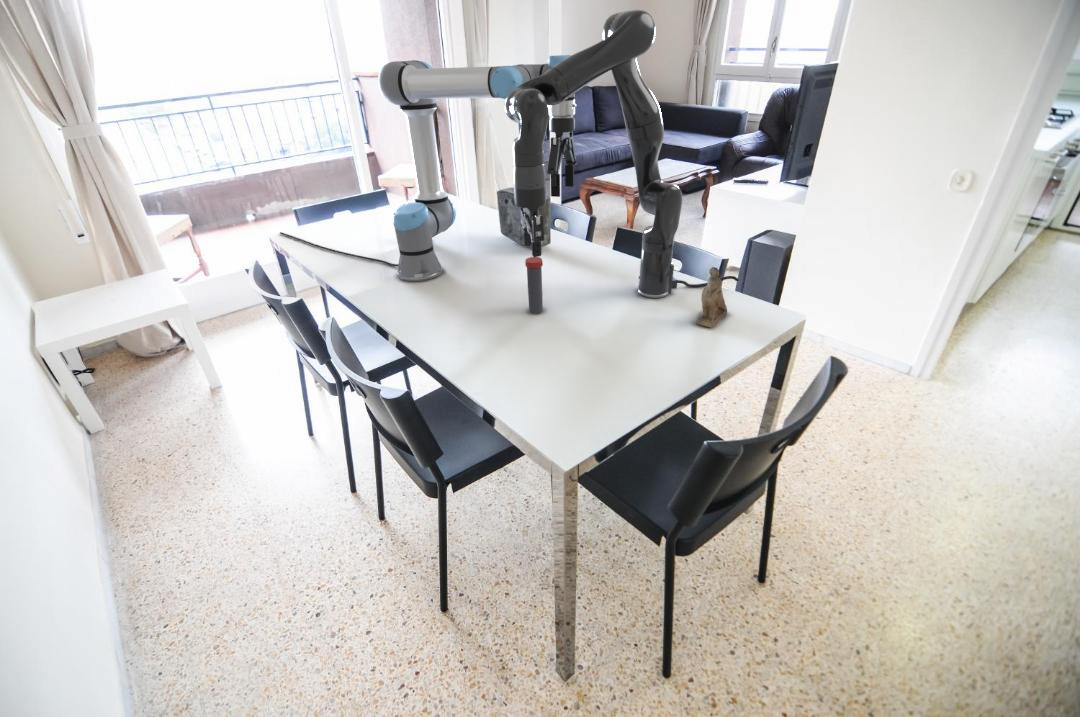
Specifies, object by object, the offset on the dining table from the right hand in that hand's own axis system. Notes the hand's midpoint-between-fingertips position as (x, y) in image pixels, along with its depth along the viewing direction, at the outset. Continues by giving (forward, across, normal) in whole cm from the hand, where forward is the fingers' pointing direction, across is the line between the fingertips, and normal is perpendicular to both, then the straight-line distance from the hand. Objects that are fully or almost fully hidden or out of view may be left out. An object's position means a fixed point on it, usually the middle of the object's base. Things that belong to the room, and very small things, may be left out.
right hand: (532, 250), depth 125 cm
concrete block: (+23, +71, -15) cm, 76 cm away
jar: (+23, +12, -3) cm, 26 cm away
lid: (+7, +12, -3) cm, 14 cm away
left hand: (-5, +36, -20) cm, 41 cm away
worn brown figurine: (+23, -9, -49) cm, 55 cm away
